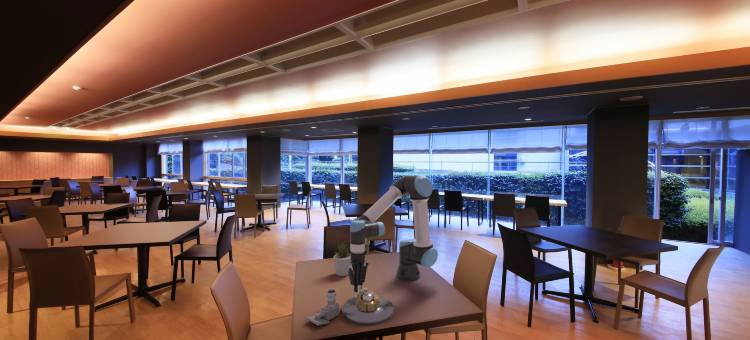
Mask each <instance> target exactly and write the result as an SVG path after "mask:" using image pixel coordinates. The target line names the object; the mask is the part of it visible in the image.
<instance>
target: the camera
mask: <svg viewBox="0 0 750 340" xmlns="http://www.w3.org/2000/svg"><path fill="white" fill-rule="evenodd" d="M336 297H337V289H334V288H331V289H327V290H326V298H327V304H326V305H324V306H322V307H321V308H320V311H319V312H317V313H316V314H314V315H312V316H305V320H307V321H308V322H311V323H313V324H314V325H317V326H323V325H327V324H330V320H333V319H334V318H336V317H338V316H339V315H340V303H338V302H336V300H337V299H336Z"/></svg>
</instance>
